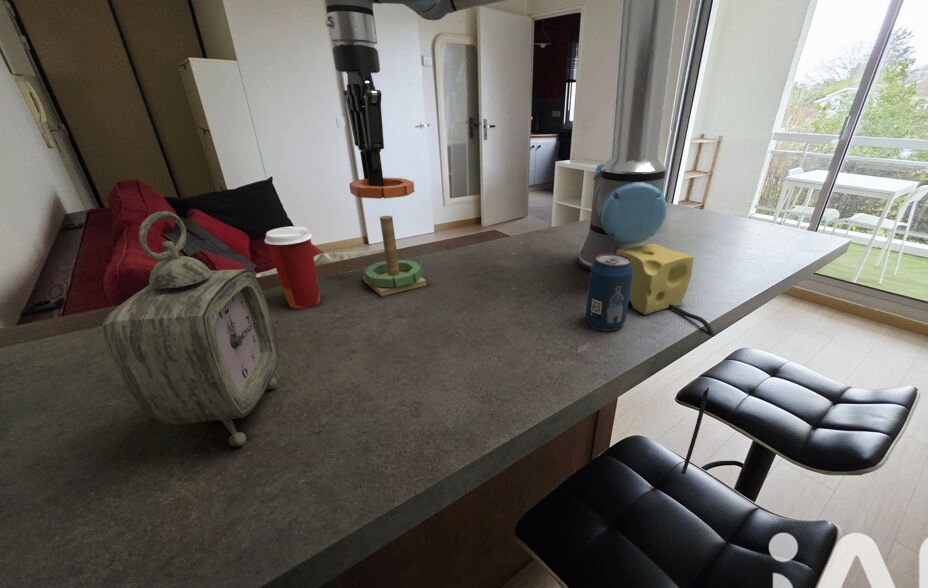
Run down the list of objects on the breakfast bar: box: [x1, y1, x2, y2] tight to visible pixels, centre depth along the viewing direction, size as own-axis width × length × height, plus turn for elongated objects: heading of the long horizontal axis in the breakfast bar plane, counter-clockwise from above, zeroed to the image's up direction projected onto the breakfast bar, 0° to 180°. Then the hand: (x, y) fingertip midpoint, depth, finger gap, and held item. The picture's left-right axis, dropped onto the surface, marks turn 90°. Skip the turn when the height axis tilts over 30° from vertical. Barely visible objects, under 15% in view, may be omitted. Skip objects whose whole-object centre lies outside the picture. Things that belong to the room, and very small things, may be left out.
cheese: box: [616, 242, 694, 316], centre depth 80 cm, size 10×11×10 cm
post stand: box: [363, 215, 427, 297], centre depth 86 cm, size 10×10×14 cm
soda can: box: [585, 253, 633, 332], centre depth 71 cm, size 7×7×12 cm
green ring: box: [363, 259, 423, 287], centre depth 88 cm, size 11×11×2 cm
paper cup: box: [264, 225, 321, 310], centre depth 77 cm, size 8×8×14 cm
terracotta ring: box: [349, 177, 415, 200], centre depth 80 cm, size 11×11×2 cm
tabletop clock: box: [101, 210, 280, 448], centre depth 45 cm, size 14×9×25 cm, turn 9°
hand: (374, 186), depth 83 cm, fingers closed on terracotta ring, 2 cm apart
